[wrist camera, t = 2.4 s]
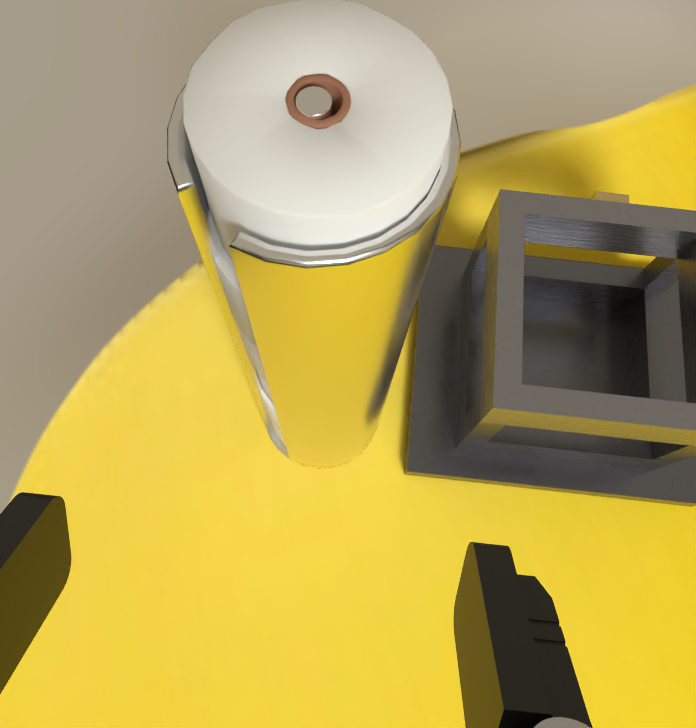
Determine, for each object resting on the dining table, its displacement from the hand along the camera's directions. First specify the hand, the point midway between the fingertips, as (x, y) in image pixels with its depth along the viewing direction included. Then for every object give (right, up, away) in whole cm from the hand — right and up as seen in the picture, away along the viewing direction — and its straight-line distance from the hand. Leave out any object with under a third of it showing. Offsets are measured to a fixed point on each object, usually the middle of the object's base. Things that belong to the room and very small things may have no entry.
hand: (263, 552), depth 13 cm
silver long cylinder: (0, +1, +24) cm, 24 cm away
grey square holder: (+14, +3, +25) cm, 29 cm away
